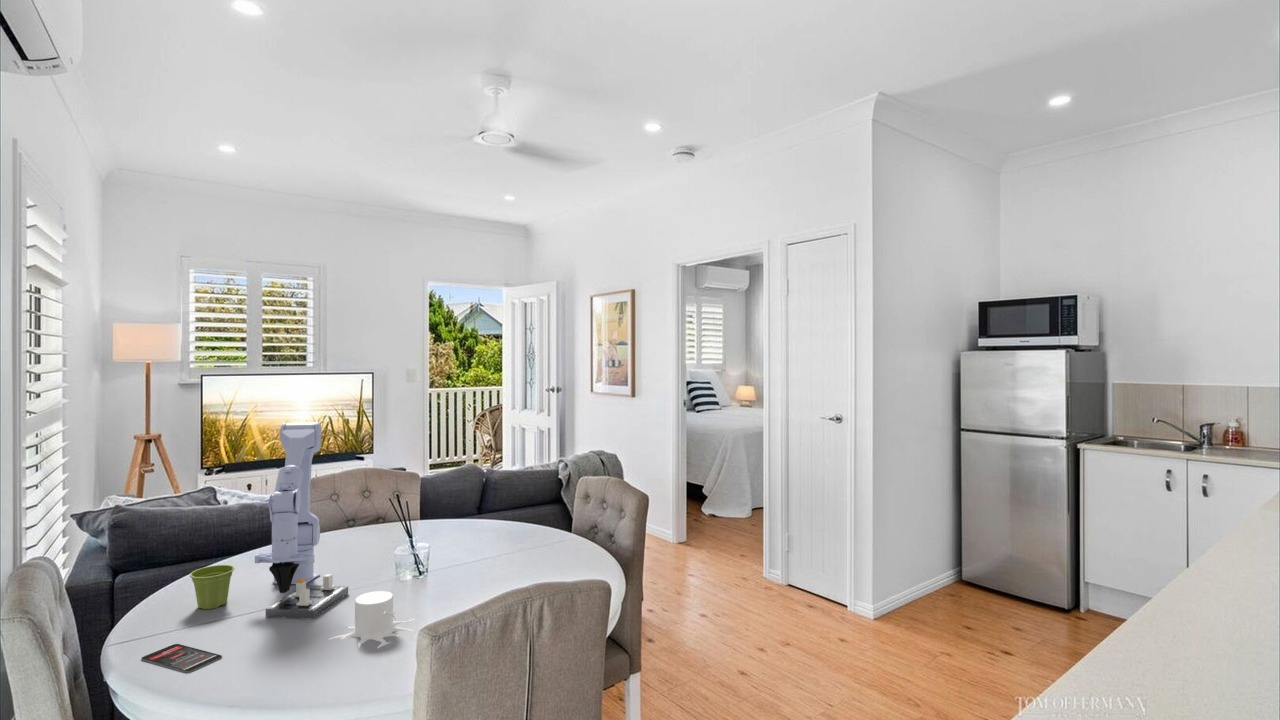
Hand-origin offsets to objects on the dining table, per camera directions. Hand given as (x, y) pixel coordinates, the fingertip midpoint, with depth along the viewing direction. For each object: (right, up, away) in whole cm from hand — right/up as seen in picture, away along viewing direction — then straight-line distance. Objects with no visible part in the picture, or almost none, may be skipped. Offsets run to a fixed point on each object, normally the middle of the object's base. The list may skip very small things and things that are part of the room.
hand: (284, 591), depth 162 cm
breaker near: (+8, -1, -6) cm, 10 cm away
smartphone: (-5, -4, -29) cm, 30 cm away
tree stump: (+29, -4, -14) cm, 33 cm away
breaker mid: (+4, -1, 0) cm, 4 cm away
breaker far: (+9, -1, +5) cm, 10 cm away
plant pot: (-18, -3, -1) cm, 18 cm away
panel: (+6, -3, 0) cm, 7 cm away
